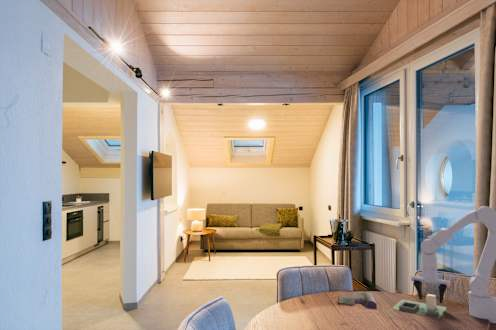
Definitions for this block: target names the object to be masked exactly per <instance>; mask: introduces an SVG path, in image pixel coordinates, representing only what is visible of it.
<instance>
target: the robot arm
mask: <svg viewBox="0 0 496 330" xmlns="http://www.w3.org/2000/svg"><path fill="white" fill-rule="evenodd" d="M479 221H480V222H481V223H482V224H484V226H485V227H486V228H487V230H488V231H489V232H488V234H487V238H486V240H485V244H484V248H483V249H482V253H481V255H480V259H479V261H478V265H477V267H476V269H475V272H474V274H473V275H472V276H471V277H469V280H468V284H469V291H468V307H469V315H470V316H472V317H474V318H477V319H483V320H488V323H491V324H496V296H495V297H494V296H491V294H490V293H489V292H490V287H489V282H490V279H491V274H492V271H493V268H494V265H495V262H496V211H495V210H494V209H493V208H492V207H490V206H487V205H483V206H482V205H481V206H479V207H478V208H477V209H474V210H471V211H470V212H468V213H466V214H465V215H463V216H462V217H460V219H458V220H457V221H455V222H454V223H453V224H451V225H449V227H440V228H436V231H435V232H434V233H432V234H431V235H428V236H427V237H426V239H424V240H422V242H421V244H420V249H421V272H422V276H421V275H411V276H410V281H411V282H413V286H414V287H415V290H416V291H417V292H416V293H417V294H418V299H419V300H420V301H421V300H422V299H423V283H425V284H434V285H439V286H438V291H439V304H443V302H444V301H443V300H444V296H445V293H446V291H447V288H448V287H451V281H450V280H446V279H441V278H439V277H438V258H437V249H439V248H442V247H443V246H445V245H447V243H449V242H451V241H452V240H453V239H454V234H456V233H457V232H459V231H461V230H463V229H464V228H465V227H467V226H469V225H471V224H479Z"/></svg>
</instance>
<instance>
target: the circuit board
mask: <svg viewBox="0 0 496 330" xmlns="http://www.w3.org/2000/svg"><path fill="white" fill-rule="evenodd" d="M403 302H409V303H414V304H419V309H418V310H417V311H416V313H415V314H417V315H422V316H426V317H427V316H428V317H432V318H438V319H441V317H442V316H443V315H444V313H445V312H446V310H447V308H448V307H447V306H443V305H437V304H436V309H435V310H431V309H426V302H425V303H424V302H420V301H414V300H408V299H401V300H399V301H398V302H397V303H396V304H395V305H394V306H392V307H391V309H393V310H397V311H402V310H399V306H400V305H401V304H402V303H403ZM405 307H408V306H405ZM409 308H414V307H409ZM402 312H403V311H402ZM405 312H408V311H405ZM408 313H409V312H408ZM410 313H411V314H414V313H413V312H410Z"/></svg>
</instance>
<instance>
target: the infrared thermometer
mask: <svg viewBox="0 0 496 330" xmlns="http://www.w3.org/2000/svg"><path fill="white" fill-rule="evenodd" d="M337 301H339V302H338V304H339V303H345V304H344V305H357V304H362V305H363V306H364V307H366V308H369V309H377V307H378V304H377V302H376V300H375V297H374V296H373V295H372V294H371V292H362V293H360V294H359V293H357V294H356V293H355V294H346V295H345V294H343V295H338V296H337Z"/></svg>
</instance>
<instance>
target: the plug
mask: <svg viewBox="0 0 496 330" xmlns="http://www.w3.org/2000/svg"><path fill="white" fill-rule="evenodd" d="M425 303H426V309H431V310H435V309H436V305H437V295H436V294H431V293H427V295H425Z"/></svg>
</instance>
